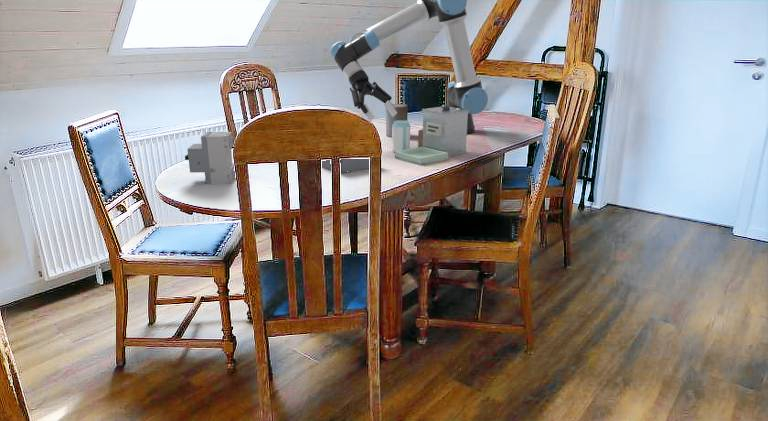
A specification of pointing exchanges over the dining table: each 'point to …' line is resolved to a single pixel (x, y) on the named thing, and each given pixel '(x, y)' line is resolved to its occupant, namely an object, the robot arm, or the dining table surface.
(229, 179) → the circuit breaker
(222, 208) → the dining table surface
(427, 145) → the box
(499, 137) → the dining table surface
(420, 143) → the walnut block
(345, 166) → the wheel bin
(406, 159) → the tray
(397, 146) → the can
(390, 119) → the pillar candle
